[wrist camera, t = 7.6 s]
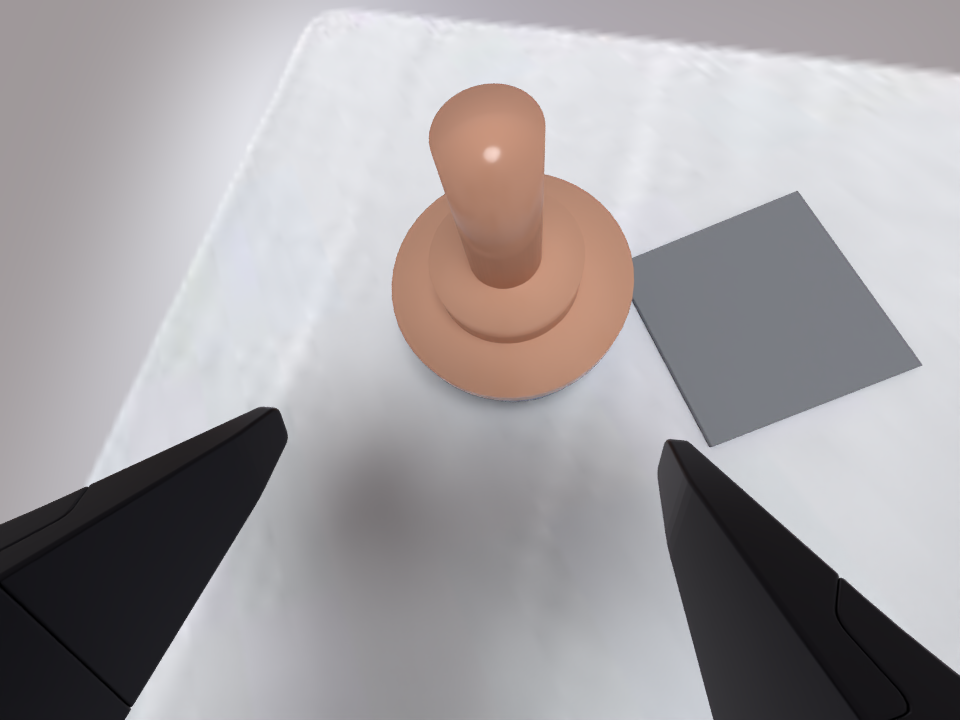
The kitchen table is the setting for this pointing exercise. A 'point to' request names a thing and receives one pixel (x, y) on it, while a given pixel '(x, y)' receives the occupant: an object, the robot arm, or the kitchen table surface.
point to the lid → (508, 258)
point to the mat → (763, 319)
